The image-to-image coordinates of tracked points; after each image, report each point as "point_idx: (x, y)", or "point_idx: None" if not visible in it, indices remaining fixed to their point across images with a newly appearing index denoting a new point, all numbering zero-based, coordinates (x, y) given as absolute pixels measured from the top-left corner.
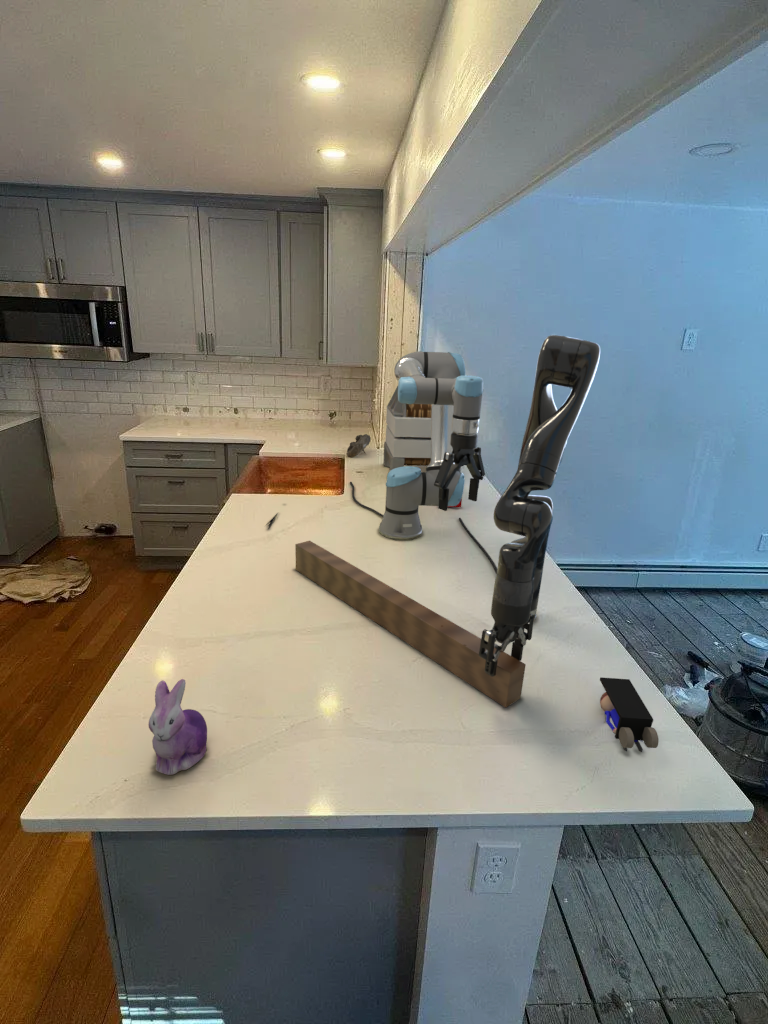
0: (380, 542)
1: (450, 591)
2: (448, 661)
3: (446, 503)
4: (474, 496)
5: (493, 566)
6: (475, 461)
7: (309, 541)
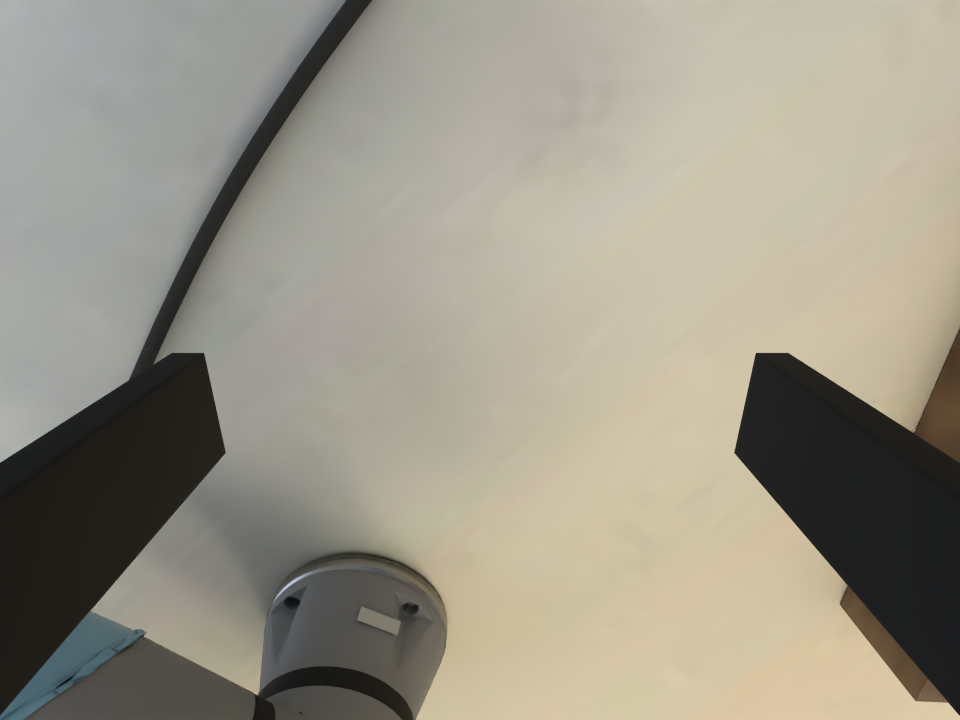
0: (496, 601)
1: (655, 110)
2: None
3: (847, 395)
4: (172, 399)
5: (276, 129)
6: None
7: (925, 695)
